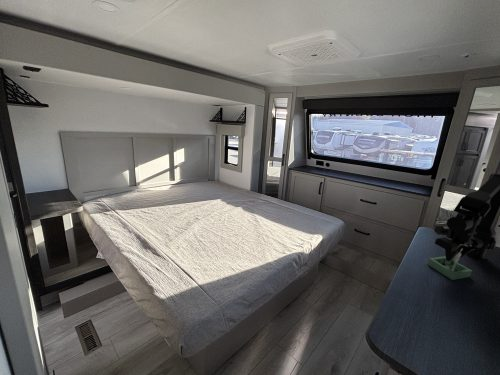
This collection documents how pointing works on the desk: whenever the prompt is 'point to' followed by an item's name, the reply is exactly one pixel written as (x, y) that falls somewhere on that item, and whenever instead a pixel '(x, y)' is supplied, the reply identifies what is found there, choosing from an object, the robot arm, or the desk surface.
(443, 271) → the green square frame
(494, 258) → the desk surface
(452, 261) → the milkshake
